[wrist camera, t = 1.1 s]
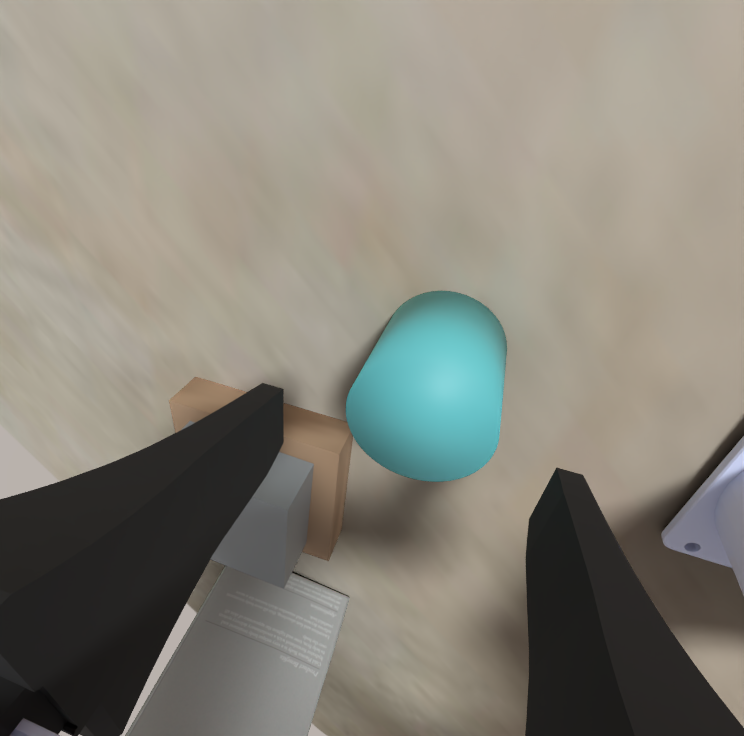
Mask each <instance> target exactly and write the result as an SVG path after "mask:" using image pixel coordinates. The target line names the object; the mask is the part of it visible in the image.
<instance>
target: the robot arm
mask: <svg viewBox="0 0 744 736" xmlns="http://www.w3.org/2000/svg"><path fill="white" fill-rule="evenodd" d="M283 443H284V426H283V389H281V388H278V387H274V386H271V385H267V384H264V383H262V384H260V385H259V386H257V387H255V388H254V389H252V390H250V391H248V392H247V393H245V394H243V395H242V396H240V397H238V398H237V399H235V400H233V401H232V402H230V403H228V404H227V405H225V406H223V407H222V408H220V409H218V410H216V411H215V412H213V413H211V414H209V415H208V416H206V417H204V418H202V419H201V420H199V421H197V422H195V423H194V424H192V425H190V426H188V427H186V428H184V429H182V430H180V431H179V432H177V433H175V434H173V435H171V436H169V437H167V438H165V439H163V440H161V441H159V442H157V443H155V444H153V445H151V446H149V447H147V448H145V449H142V450H140V451H138V452H136V453H133V454H131V455H129V456H126V457H124V458H122V459H119V460H117V461H115V462H112V463H110V464H107V465H105V466H102V467H99V468H96V469H94V470H91V471H88V472H85V473H82V474H80V475H77V476H74V477H71V478H69V479H66V480H63V481H60V482H57V483H54V484H51V485H48V486H45V487H41V488H38V489H35V490H32V491H28V492H25V493H22V494H18V495H15V496H11V497H8V498H4V499H0V736H60V735H58V734H59V732H60V731H64V732H66V733H68V734H70V735H72V736H78V735H79V734H80V735H82V736H120V735H121V734H122V733H123V731H124V729H125V726H126V724H127V722H128V720H129V718H130V715H131V713H132V711H133V709H134V707H135V705H136V703H137V700H138V698H139V696H140V694H141V692H142V690H143V688H144V686H145V683H146V681H147V679H148V677H149V675H150V673H151V671H152V669H153V667H154V665H155V663H156V661H157V659H158V657H159V655H160V653H161V651H162V649H163V647H164V645H165V643H166V641H167V639H168V637H169V635H170V633H171V631H172V629H173V627H174V625H175V623H176V621H177V620H178V618H179V616H180V614H181V612H182V610H183V608H184V606H185V604H186V603H187V601H188V599H189V597H190V595H191V593H192V591H193V589H194V588H195V586H196V584H197V582H198V580H199V579H200V577H201V575H202V573H203V571H204V570H205V568H206V566H207V564H208V562H209V561H210V559H211V557H212V556H213V554H214V552H215V551H216V549H217V548H218V546H219V544H220V543H221V541H222V540H223V538H224V537H225V536H226V534H227V533H228V531H229V530H230V528H231V527H232V525H233V524H234V523H235V521H236V520H237V518H238V517H239V515H240V514H241V512H242V511H243V510H244V508H245V507H246V505H247V504H248V502H249V501H250V499H251V498H252V496H253V495H254V494H255V492H256V491H257V489H258V488H259V486H260V485H261V483H262V482H263V480H264V479H265V477H266V476H267V474H268V472H269V470H270V469H271V467H272V465H273V463H274V461H275V459H276V457H277V455H278V453H279V451H280V449H281V447H282V445H283ZM661 536H662V540H663V543H664V545H665V546H666V547H668V548H670V549H672V550H675V551H678V552H682V553H685V554H688V555H691V556H695V557H698V558H701V559H704V560H708V561H711V562H714V563H717V564H721V565H724V566H727V567H730V568H733V571H734V573H735V576H736V578H737V581H738V583H739V586H740V588H741V591H742V593H743V596H744V436H743V437H742V438H741V440H740V441H739V442H738V443H737V444H736V445H735V447H734V448H733V449H732V450H731V451H730V453H729V454H728V455H727V456H726V457H725V458H724V460H723V461H722V462H721V463H720V464H719V465H718V467H717V468H716V469H715V470H714V471H713V473H712V474H711V475H710V476H709V477H708V478H707V480H706V481H705V482H704V483H703V484H702V485H701V487H700V488H699V489H698V490H697V491H696V492H695V494H694V495H693V496H692V497H691V498H690V500H689V501H688V502H687V503H686V504H685V505H684V507H683V508H682V509H681V510H680V511H679V512H678V514H677V515H676V516H675V517H674V518H673V520H672V521H671V522H670V523H669V524H668V525H667V527H666V528H665V529H664V530H663V531H662V533H661ZM526 584H527V611H528V636H529V686H528V703H527V721H526V734H525V736H744V728H743V726H742V725H741V724H740V723H739V721H738V720H737V719H736V718H735V716H734V715H733V714H732V713H731V711H730V710H729V709H728V707H727V706H726V705H725V704H724V702H723V701H722V700H721V699H720V697H719V696H718V695H717V694H716V692H715V691H714V690H713V688H712V687H711V686H710V684H709V683H708V682H707V680H706V679H705V678H704V676H703V675H702V674H701V672H700V671H699V670H698V668H697V667H696V666H695V664H694V663H693V662H692V660H691V659H690V657H689V656H688V654H687V653H686V652H685V650H684V649H683V647H682V646H681V645H680V643H679V642H678V640H677V639H676V637H675V636H674V635H673V633H672V632H671V630H670V629H669V627H668V626H667V624H666V623H665V621H664V620H663V618H662V617H661V615H660V614H659V612H658V611H657V609H656V607H655V606H654V604H653V602H652V601H651V599H650V598H649V596H648V594H647V593H646V591H645V590H644V588H643V586H642V585H641V583H640V581H639V580H638V578H637V576H636V574H635V573H634V571H633V569H632V567H631V566H630V564H629V562H628V560H627V559H626V557H625V555H624V553H623V551H622V550H621V548H620V546H619V544H618V542H617V541H616V539H615V537H614V535H613V533H612V531H611V529H610V527H609V525H608V523H607V521H606V520H605V518H604V516H603V514H602V512H601V510H600V508H599V506H598V504H597V502H596V500H595V498H594V496H593V494H592V492H591V490H590V488H589V486H588V484H587V482H586V480H585V478H584V476H583V475H581V474H577V473H574V472H570V471H567V470H563V469H560V468H556V470H555V472H554V474H553V475H552V477H551V479H550V481H549V483H548V485H547V487H546V489H545V490H544V492H543V494H542V496H541V498H540V500H539V502H538V503H537V505H536V507H535V509H534V511H533V513H532V515H531V517H530V518H529V526H528V537H527V549H526Z"/></svg>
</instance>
